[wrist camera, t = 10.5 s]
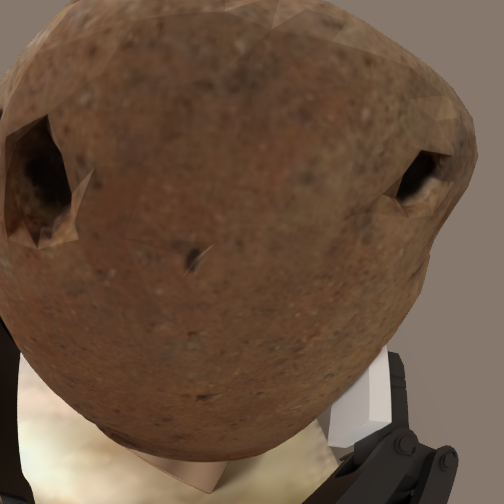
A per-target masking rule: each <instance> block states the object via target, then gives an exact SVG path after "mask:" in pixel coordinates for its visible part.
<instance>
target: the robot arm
mask: <svg viewBox="0 0 504 504" xmlns="http://www.w3.org/2000/svg"><path fill="white" fill-rule="evenodd" d="M20 353H21V351H20V350H19V348H18V347H17V345H16V343H15V341H14V339H13V338H12V336H11V334H10V332H9V330H8V328H7V327H6V325H5V323H4V321H3V320H2V318H1V316H0V495H1V498H2V502H3V504H35V501H34V497H33V492H32V489H31V486H30V484H29V482H28V481H27V480H26V479H25V477H24V476H23V473H22V469H21V462H20V453H19V442H18V425H17V391H18V374H19V363H20ZM404 379H405V372H404V365H403V363H402V361H401V359H400V356H399V354H397V353H393V352H389V351H387V344H386V345H385V346H384V347H382V350H381V352H380V354H379V355H378V356H377V357H376V359H375V360H374V361H373V362H372V363H371V364H370V366H369V367H368V368H367V369H366V370H365V371H364V373H363V374H362V375H361V376H360V378H359V379H358V380H357V381H356V382H355V383H354V384H353V385H352V386H351V387H350V388H349V389H348V390H347V391H345V392H344V393H343V394H342V395H341V396H340V397H339V398H338V399H337V400H336V401H335V402H333V403H332V408H331V418H330V426H329V435H328V442H327V446H334V447H343V448H347V447H349V446H351V445H353V444H355V445H354V452H352V453H349V454H347V455H345V456H343V457H342V458H340V461H343V460H344V462H343V463H342V464H341V465H340V466H339V467H338V468H337V469H336V470H335V471H334V472H333V474H332V475H331V476H330V477H329V478H328V479H327V480H326V481H325V482H324V483H323V484H322V485H321V486H320V487H319V488H318V489H317V490H316V491H315V492H314V493H313V494H312V495H310V496H309V497H308V498H307V499H306V500H305V501H304V502H303V503H302V504H447V502H448V499H449V496H450V493H451V489H452V486H453V482H454V479H455V475H456V471H457V467H458V455H457V452H456V451H455V449H454V448H452V447H451V446H443V447H441V448H438V449H437V450H435V449H433V448H430V447H428V446H425V445H423V444H421V443H419V442H418V439H417V436H416V435H415V434H414V432H413V431H412V430H410V429H409V423H408V405H407V392H406V390H405V389H406V381H405V380H404Z"/></svg>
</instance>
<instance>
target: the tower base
mask: <svg viewBox="0 0 504 504" xmlns="http://www.w3.org/2000/svg"><path fill="white" fill-rule="evenodd" d="M125 448H126V447H125ZM126 449H128V448H126ZM128 450H129V451H131V452H132V453H134V454H135V455H137V456H138V457H140V458H142V459H143V460H145V461H146V462H148V463H150V464H151V465H153V466H155V467H156V468H158V469H160V470H161V471H163V472H165V473H167V474H169V475H170V476H172V477H174V478H176V479H178V480H180V481H182V482H184V483H186V484H188V485H190V486H192V487H194V488H196V489H198V490H200V491H203V492H205V493H207V494H211V493H212V491H213V489H214V487H215V486H216V484H217V482H218V480H219V479H220V477H221V475H222V473H223V471H224V470H225V468H226V466H227V464H228V462H229V461H224V462H186V461H179V460H171V459H166V458H161V457H156V456H153V455H149V454H145V453H142V452H138V451H137V450H133V449H128Z"/></svg>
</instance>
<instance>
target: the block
mask: <svg viewBox="0 0 504 504" xmlns="http://www.w3.org/2000/svg"><path fill="white" fill-rule="evenodd" d="M477 158H478V153H477V145H476V137H475V130H474V124H473V119H472V117H471V115H470V114H469V112H468V110H467V109H466V107H465V106H464V104H463V103H462V101H461V100H460V98H459V97H458V95H457V94H456V92H455V91H454V90H453V88H452V87H451V86H450V85H449V84H448V83H447V82H446V81H445V80H444V79H443V78H442V77H441V76H440V75H439V74H438V73H436V72H435V71H434V70H433V69H432V68H431V67H430V66H428V65H427V64H426V63H425V62H423V61H422V60H420V59H419V58H418V57H416V56H415V55H414V54H412V53H411V52H409V51H408V50H406V49H405V48H404V47H402V46H400V45H399V44H397V43H396V42H394V41H393V40H391V39H390V38H389V37H387V36H386V35H384V34H383V33H381V32H380V31H378V30H377V29H375V28H374V27H372V26H371V25H369V24H367V23H366V22H364V21H363V20H361V19H359V18H358V17H356V16H354V15H352V14H350V13H349V12H347V11H345V10H343V9H341V8H339V7H337V6H335V5H333V4H331V3H329V2H326V1H322V0H71V1H70V2H69V3H68V4H67V5H66V6H65V7H64V8H63V9H62V10H61V11H60V12H59V13H58V14H57V15H56V16H54V17H53V18H52V20H51V21H50V22H49V23H48V24H47V25H46V26H45V27H44V28H43V29H42V30H41V31H40V32H39V33H38V34H37V35H36V36H35V38H34V39H33V40H32V41H31V42H30V43H29V44H28V45H27V47H26V48H25V49H24V50H23V51H22V53H21V54H20V55H19V57H18V59H17V60H16V62H15V63H14V64H13V65H12V66H11V67H10V69H9V70H8V71H7V72H6V73H5V74H4V76H3V77H2V78H1V80H0V316H1V318H2V320H3V321H4V323H5V325H6V327H7V328H8V330H9V332H10V334H11V336H12V338H13V339H14V341H15V343H16V345H17V347H18V348H19V350H20V351H21V353H22V354H23V356H24V357H25V359H26V360H27V362H28V363H29V364H30V366H31V367H32V368H33V369H34V371H35V372H36V373H37V374H38V375H39V376H40V378H41V379H42V380H43V381H44V382H45V383H46V384H47V385H48V386H49V388H50V389H51V390H52V391H53V392H54V393H55V394H57V395H58V396H59V397H61V398H62V399H63V400H64V401H65V402H66V403H67V404H68V405H69V406H70V407H72V408H73V409H74V410H75V411H77V412H78V413H79V414H81V415H83V417H84V418H85V419H87V420H89V421H90V422H92V423H94V424H96V426H97V427H98V428H99V429H100V430H101V431H102V432H103V433H104V434H105V435H106V436H107V437H109V438H110V439H112V440H113V441H115V442H116V443H118V444H119V445H121V446H124V447H126V448H128V449H133V450H137V451H138V452H142V453H145V454H149V455H153V456H156V457H161V458H166V459H171V460H179V461H186V462H224V461H233V460H240V459H245V458H249V457H254V456H257V455H260V454H262V453H265V452H267V451H269V450H271V449H273V448H275V447H277V446H278V445H280V444H282V443H283V442H285V441H286V440H288V439H290V438H291V437H293V436H294V435H296V434H297V433H298V432H300V431H301V430H303V429H304V428H305V427H306V426H308V425H309V424H310V423H311V422H312V421H314V420H315V419H316V417H317V416H318V415H319V414H321V413H322V412H323V411H324V410H325V409H327V408H328V407H329V406H330V405H331V404H332V403H333V402H335V401H336V400H337V399H338V398H339V397H340V396H341V395H342V394H343V393H344V392H345V391H347V390H348V389H349V388H350V387H351V386H352V385H353V384H354V383H355V382H356V381H357V380H358V379H359V378H360V376H361V375H362V374H363V373H364V371H365V370H366V369H367V368H368V367H369V366H370V364H371V363H372V362H373V361H374V360H375V359H376V357H377V356H378V355H379V354H380V352H381V350H382V347H384V346H385V345H386V344H387V343H388V341H389V340H390V339H391V338H392V336H393V335H394V334H395V332H396V331H397V329H398V327H399V326H400V324H401V323H402V321H403V320H404V318H405V317H406V315H407V314H408V312H409V311H410V309H411V308H412V306H413V304H414V302H415V301H416V299H417V298H418V296H419V294H420V293H421V289H422V286H423V283H424V280H425V275H426V271H427V267H428V262H429V258H430V254H429V252H430V249H431V247H432V244H433V242H434V239H435V238H436V236H437V234H438V233H439V231H440V229H441V227H442V226H443V224H444V223H445V221H446V220H447V218H448V217H449V215H450V213H451V212H452V210H453V209H454V207H455V206H456V204H457V203H458V201H459V200H460V198H461V197H462V195H463V194H464V192H465V191H466V189H467V187H468V185H469V182H470V180H471V177H472V174H473V171H474V168H475V165H476V161H477Z"/></svg>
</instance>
